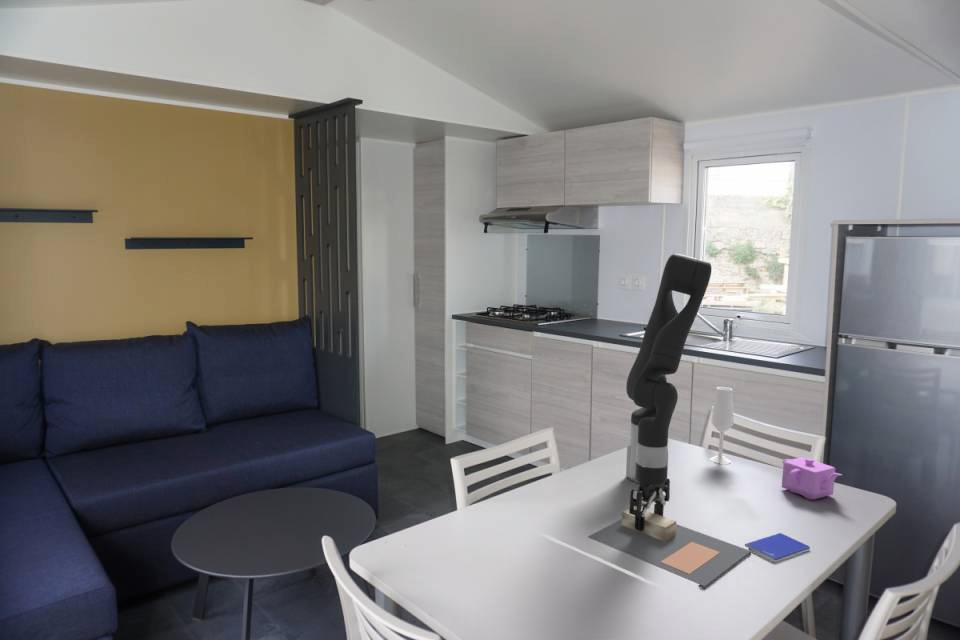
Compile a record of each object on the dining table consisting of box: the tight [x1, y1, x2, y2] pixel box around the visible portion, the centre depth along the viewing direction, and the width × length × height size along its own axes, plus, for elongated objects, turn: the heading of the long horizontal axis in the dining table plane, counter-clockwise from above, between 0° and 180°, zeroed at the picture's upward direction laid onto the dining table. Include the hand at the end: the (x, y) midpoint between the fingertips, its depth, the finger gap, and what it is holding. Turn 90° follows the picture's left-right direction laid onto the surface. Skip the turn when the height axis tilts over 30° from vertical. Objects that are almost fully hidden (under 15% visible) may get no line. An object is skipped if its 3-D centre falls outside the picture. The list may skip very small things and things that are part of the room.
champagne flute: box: [709, 386, 734, 465], centre depth 209 cm, size 7×7×24 cm
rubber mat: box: [587, 518, 752, 589], centre depth 153 cm, size 30×22×1 cm
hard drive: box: [744, 532, 811, 563], centre depth 152 cm, size 2×8×12 cm
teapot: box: [781, 456, 843, 501], centre depth 183 cm, size 18×14×10 cm
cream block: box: [621, 506, 677, 541], centre depth 160 cm, size 12×5×4 cm, turn 44°
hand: (649, 524), depth 160 cm, fingers open, 8 cm apart
